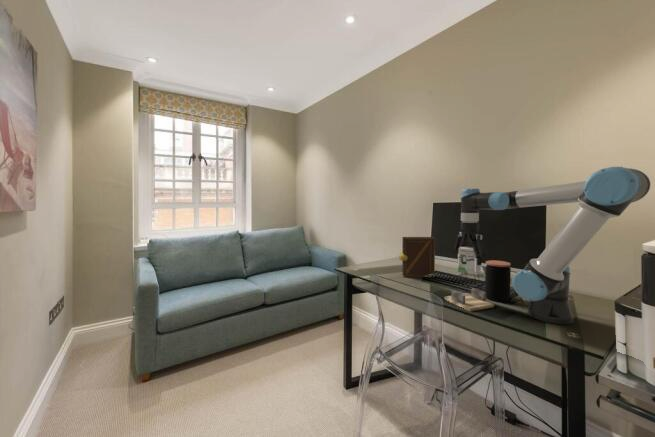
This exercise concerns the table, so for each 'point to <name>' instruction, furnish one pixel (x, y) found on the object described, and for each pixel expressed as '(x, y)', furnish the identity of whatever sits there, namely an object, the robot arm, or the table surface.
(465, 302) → the clip stand
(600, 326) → the table surface
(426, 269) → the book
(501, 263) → the coffee jar
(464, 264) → the ink box
